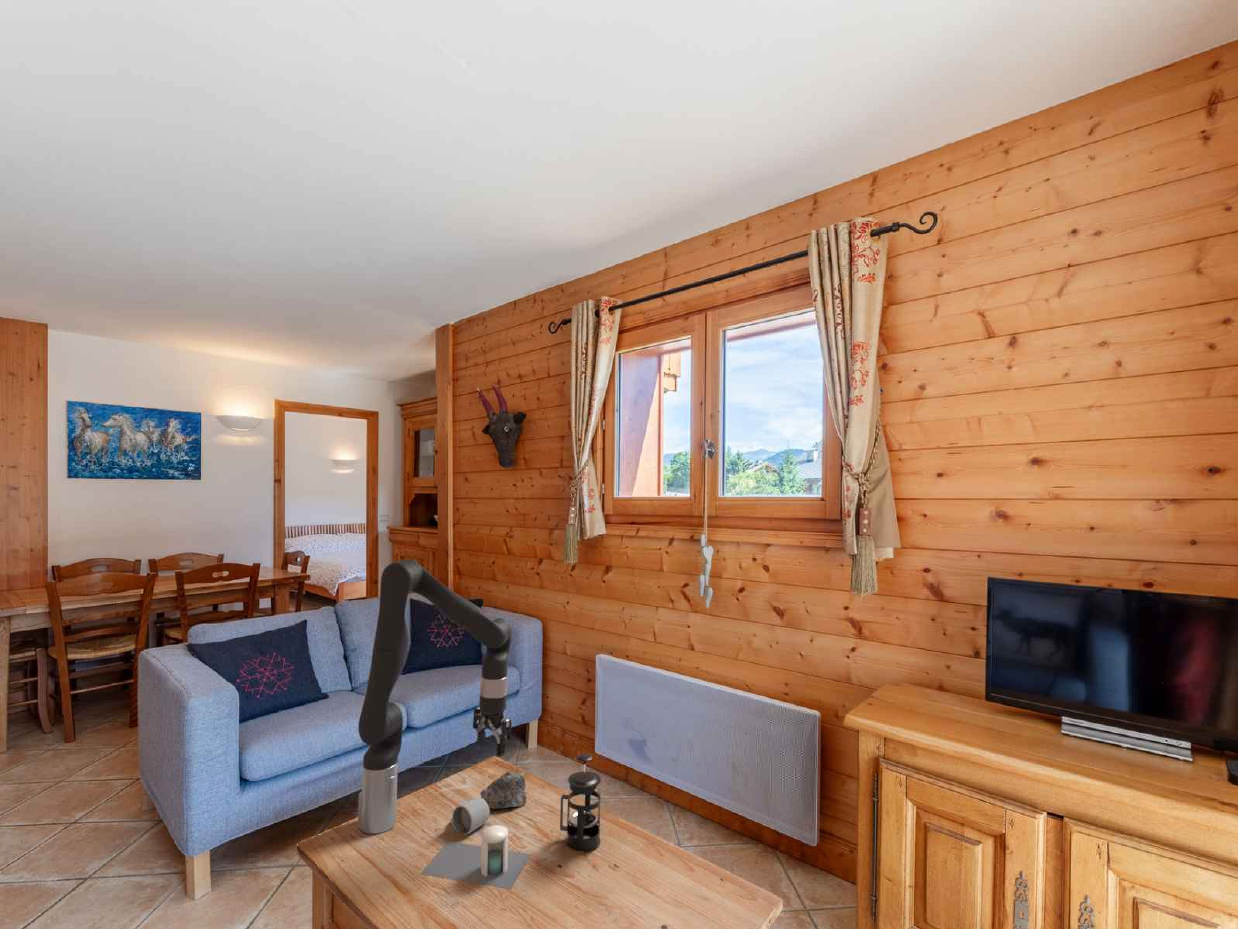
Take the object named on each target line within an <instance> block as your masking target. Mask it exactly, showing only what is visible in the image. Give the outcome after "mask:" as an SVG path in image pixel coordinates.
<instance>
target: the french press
mask: <svg viewBox="0 0 1238 929" xmlns="http://www.w3.org/2000/svg"><path fill="white" fill-rule="evenodd" d="M576 758H577V760H578V761H580V762H582V764H583V771H578V772H575V773H572V774H570V776H569V777H568V778H567V780H568V785H569V790H570V791H571V792H570V793H569V794H562V795H561V797H560V813H559V814H560V820H559V821H560V822H559V823H560V824H559V830H560V831H564V832H566V840H565V843H566V846H567V847H569V849H571V850H574V851H576V852H583V853H590V852H593V851H595V850H597V849H598V848H599V847H600V845H601V837H600V836H601V801H602V800H601V795H600V793H599V792H597V791H596V788H597V787H598V786H599V784H601V782H602V778H601V775H599V774H598V773H595V772H592V771H586V765H587V763H588V762H589V761H592V760H593V756H592V755H591V754H588V753H583V754H579V755H578V756H577V757H576ZM578 795H579V796H580V795H581V796H582V795H583V802H582V803H583V805H579V804H575V803H573V802H572V801H571V798H573V797H576V796H578ZM591 796H593V797H596V798H597V799H598V800H597V802H595V803H593V804H592V803H591ZM564 800H567V811H566V812H567V819H566V820H567V822H566V824H567V825H566V826H565V825H564V824H563V823H564V822H563V821H564ZM597 808H598V813H596V811H593V810H595V809H597ZM570 809H572V810H575V811H573V812H572V813H570ZM584 835H589V836H592V837H590V838H584ZM575 836H576V837H575Z"/></svg>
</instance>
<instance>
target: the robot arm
mask: <svg viewBox="0 0 1238 929" xmlns="http://www.w3.org/2000/svg"><path fill="white" fill-rule="evenodd" d="M381 573H382V574H381V576H380V591H379V611H378V617H377V622H376V629H375V636H374V639H373V640H374V642H373V646H372V654H371V660H370V661H371V662H370V663H371V664H370V667H369V668H370V669H369V674H368V681H367V687H366V691H365V697H364V701H363V704H362V708H361V712H360V715H359V720H358V728H357V729H358V734H359V735H358V736H359V738H360V739H361V741H362V742H363V743H364V744H365V745H368V746H369V747H368V749H367V750H366V752H365V753H364V754H363V759H362V782H361V783H362V785H361V791H360V792H359V794H358V807H357V809H358V810H357V811H358V812H357V829H360V830H361V831H362V832H363V833H365V834H371V835H375V834H381V833H385V832H388V831H389V830H391V829H392V828H394V826H395V825H396V823H397V821H396V820H397V796H398V794H397V793H398V766H399V763H398V762H399V761H398V760H399V754H400V752H401V749H402V744H403V743H402V739H403V728H404V717H403V713H402V709H400V706H399V705H398V704H396V703H394V702H391V701H390V699H391V695H392V691H393V690H394V688H395V685H396V683H397V682H398V680H399V677H400V675H401V674H402V673H403V672H402V671H403V669H404V667H405V664H406V660H407V655H408V649H409V640H410V639H409V637H410V636H409V630H408V627H407V626H408V625H407V623H406V608H407V602H408V597H409V593H410V592H413V593H415V594H417V595H419V596H421V597H424V598H425V599H426V600H428V601H429V602H430V603H431V604H432V605H433V606H434V607H435V608H436V609H437V610H438V611H439V612H440V613H441V615H443V616H444V617H445V618H446V619H447V620H449V621H451V622H452V623H454V624H456V625H457V626H459V627H461V628H462V629H464V630H465V631H467V632H468V633H469V634H470V635H471V636H472V637H473V638H474V639H475V640H476V641H478V643H480V644H481V645H483V646H484V647H486V651H485V654H484V657H483V659H482V662H481V664H482V665H481V677H480V678H481V680H480V685H479V702H478V703H479V704H478V706H476V707H474V708H473V720H472V728H473V730H476V733H477V735H476V736H477V739H476V742H477V746H478V747H479V748H481V747H484V746H485V745H486V738H487V737H486V735H487V734H486V733H487V731H486V730H489V731H491V732H492V735H493V736H494V737H495V739H496V752H495V756H496V757H497V758H500V757H503V756H504V755H505V752H506V743H508V742H511V741H512V719H511V718H510V717H509V718H505V716H504V712H505V711H506V709H507V705H508V704H507V701H508V699H507V698H508V658H509V653H510V646H511V642H512V626H511V624H510V623H509V621H508V620H507V619H505V618H502V617H501V618H500V617H498V618H494V619H493V620H491V619H490V618H489V617H488V616H486V615H484V612H483V610H482V608H481V607H479V606H477V605H476V604H475V603H473V602H471V601H469V600H468V599H466V598H464V597H463V596H461V595H459V594H458V593H456V591H453V590H452V589H451V588H449V587H448V586H446V585H445V584H444V583H442V582H441V581H440V580H439V579H437V578H436V577H435V576H433V575H432V574H431V573H430V572H429V571H427V570H426V569H425V567H424V566H422V565H421V564H419V563H418V562H416V560H413V559H410V558H406V559H404V558H403V559H400V560H397V561H394V562H392V563H389V564H388V565H386V567H385V568H384V569H383V571H382V572H381Z"/></svg>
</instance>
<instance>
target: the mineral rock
mask: <svg viewBox="0 0 1238 929" xmlns="http://www.w3.org/2000/svg"><path fill="white" fill-rule="evenodd" d="M479 795H480V798H483V799H484V800H486V802H487V803H488V806H489V809H491V810H493V809H508V808H515V807H522V806H525V805H526V803H527V793H526V778H525V774H524V772H514V771H513V770H508V771H506V772H504V773H503V774H502V775H501V776H500V777H498V778H497V779H496V780H494V781H491V783H490V784H489V785H488V786H487V787H486V788H484V789H482V790H481V791H480V793H479Z"/></svg>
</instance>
